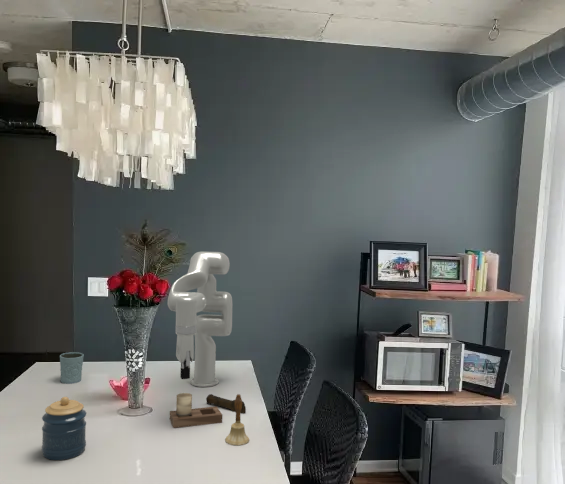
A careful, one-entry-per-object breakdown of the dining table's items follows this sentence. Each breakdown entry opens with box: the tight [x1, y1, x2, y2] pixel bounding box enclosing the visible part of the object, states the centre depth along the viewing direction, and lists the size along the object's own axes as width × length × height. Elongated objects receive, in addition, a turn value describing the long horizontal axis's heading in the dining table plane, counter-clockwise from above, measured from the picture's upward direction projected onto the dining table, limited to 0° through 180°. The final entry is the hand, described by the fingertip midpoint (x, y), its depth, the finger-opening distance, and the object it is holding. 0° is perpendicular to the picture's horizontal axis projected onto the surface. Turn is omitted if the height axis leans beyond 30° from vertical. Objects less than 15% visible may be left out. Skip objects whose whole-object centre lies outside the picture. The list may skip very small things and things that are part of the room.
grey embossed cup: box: [59, 351, 84, 385], centre depth 235 cm, size 10×10×12 cm
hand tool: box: [205, 393, 247, 414], centre depth 207 cm, size 19×4×5 cm, turn 54°
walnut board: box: [168, 405, 223, 429], centre depth 193 cm, size 9×18×3 cm, turn 111°
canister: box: [41, 396, 87, 461], centre depth 165 cm, size 13×13×18 cm
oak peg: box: [175, 392, 193, 417], centre depth 192 cm, size 6×6×10 cm
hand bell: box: [224, 393, 250, 446], centre depth 177 cm, size 8×8×16 cm
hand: (185, 378), depth 192 cm, fingers closed
